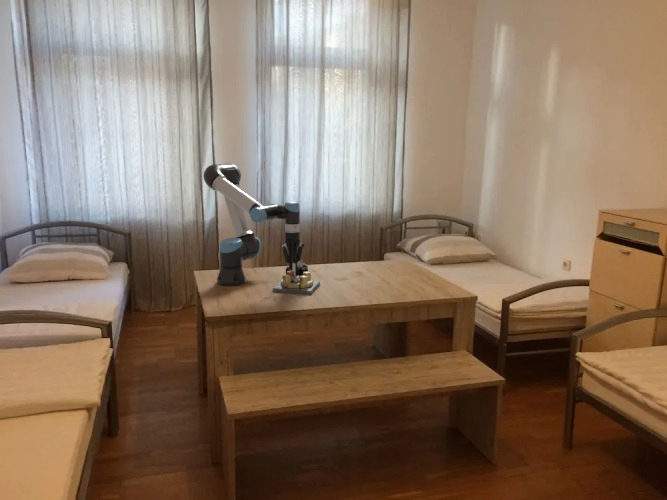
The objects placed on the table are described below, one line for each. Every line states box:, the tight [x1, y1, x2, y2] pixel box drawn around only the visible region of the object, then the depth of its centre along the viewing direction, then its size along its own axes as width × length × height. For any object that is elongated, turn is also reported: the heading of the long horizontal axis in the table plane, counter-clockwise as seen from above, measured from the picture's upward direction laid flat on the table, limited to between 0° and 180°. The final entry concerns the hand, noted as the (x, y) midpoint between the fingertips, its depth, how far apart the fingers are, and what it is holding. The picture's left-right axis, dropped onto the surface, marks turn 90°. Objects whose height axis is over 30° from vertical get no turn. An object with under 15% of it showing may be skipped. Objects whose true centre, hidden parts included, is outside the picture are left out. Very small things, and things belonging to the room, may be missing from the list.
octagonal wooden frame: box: [280, 271, 314, 288], centre depth 300 cm, size 16×16×6 cm
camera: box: [285, 259, 309, 276], centre depth 321 cm, size 16×10×10 cm, turn 27°
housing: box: [272, 276, 321, 295], centre depth 300 cm, size 20×20×6 cm
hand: (293, 275), depth 306 cm, fingers closed
